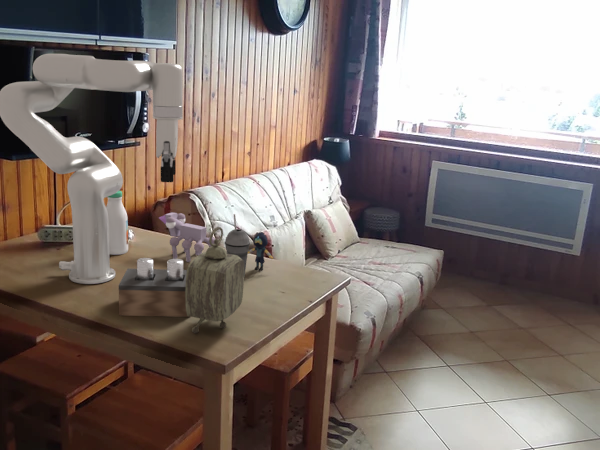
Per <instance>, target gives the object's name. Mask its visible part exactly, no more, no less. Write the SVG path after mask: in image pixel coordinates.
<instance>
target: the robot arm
mask: <svg viewBox="0 0 600 450" xmlns="http://www.w3.org/2000/svg"><path fill="white" fill-rule="evenodd" d="M32 73H33V77H34V78H35V79H36V80H35V81H34V80H32V81H31V80H30V81H16V82H12V83H9V84H7V85H4V86H3V87H2V88H1V89H0V118H1V121H2V122H3V124H4V125H5V127H7V128H8V129H9V130H10V131H11V132H12V133H13V134H14V135H15V136H16V137H18V139H20V140H21V141H22V142H23V143H24V144H25V145H26V146H27V147H29V149H30V151H31V152H33V153H34V154H35V156H37V157H38V158H39V159H40V160H41V161H42V162H43V163H44V164H45V165H46V166H47V167H48V168H49V169H50V170H51V171H53V172H54V173H56V174H58V175H66V174H70V173H72V174H71V176H70V177H69V178H68V181H67V185H66V186H67V194H68V198H69V202H70V206H71V219H72V239H73V240H72V242H73V243H72V244H73V260H71V261H64V260H63V261H61V260H60V261H59V263H58V267H59V269H60V271H70V272H69V273H68V278H69V280H70V281H71V282H74V283H77V284H80V285H81V284H83V285H94V284H95V285H96V284H101V283H106V282H109V281H111V280H113V279H114V278H116V270H115V269H114V268H112V267H110V265H111V264H110V254H109V224H108V212H107V209H106V206H107V205H106V203H105V201H104V199H105V198H107V197H108V196H111V195H113V194H115V193H117V192H118V191H121V189H122V187H123V184H124V179H123V173H122V172H121V170H120V168H119V167H118V166H117V164H115V163H114V162H113V161H112V160H111V159H110V157H108V156H107V155H106V154H105V153H104V152H103V151H102V150H101V149H100V148H99V147H98V146H97V145H96V144H95V143H94V142H93V141H91V140H90V139H88V138H86V137H83V136H69V137H65V136H63V135H62V133H60V132H59V131H58V130H56V128H54V126H53V125H52V124H50V122H48V121H47V120H45V119H43V118H41V117H40V116H38V115H37V114H36V113H43V112H49V111H52V110H53V109H55V108H56V107H57V106H59V105H60V104H61V103H62V102H63V101H64V100H65V98H67V97H68V96H69V95H70V93H72V92H73V90H74V89H83V90H90V91H91V90H96V91H106V92H107V91H109V92H120V93H121V92H122V93H132V92H144V91H152V118H153V119H154V120H156V129H155V131H156V132H155V133H156V134H155V136H156V138H155V140H156V143H155V146H156V149H155V151H156V152H155V156H156V158H157V159H159V158H161V162H160V163H161V164H160V183H173V182H174V176H175V175H176V159H175V158H176V156H177V151H178V144H179V143H178V140H179V138H178V137H179V120H180V121H181V120H183V119H184V118H183V115H184V114H183V107H184V106H183V104H184V103H183V102H184V101H183V95H184V92H183V91H184V89H183V87H184V86H183V81H184V79H183V77H184V76H183V67H182V66H181V65H180V64H178V63H171V62H169V63H168V62H167V63H166V62H153V61H147V60H119V59H118V60H114V59H101V58H95V57H94V56H93V55H81V54H77V55H76V54H67V53H44V54H42V55H40V56H38V57H37V58H36V59H35V60H34V61H33V65H32Z"/></svg>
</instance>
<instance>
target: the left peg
mask: <svg viewBox="0 0 600 450" xmlns="http://www.w3.org/2000/svg"><path fill="white" fill-rule="evenodd" d="M136 269H137V280H148V281H153V269H154V259H153V258H150V257H140V258H138V259H137V260H136Z"/></svg>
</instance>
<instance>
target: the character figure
mask: <svg viewBox="0 0 600 450" xmlns="http://www.w3.org/2000/svg"><path fill="white" fill-rule="evenodd" d="M252 243H253V245H254V246H255V247H253V248H251V249H248V254H247V255H249V254H251V253H253V252H255V251H256V252H255V256H256V257H255V261H254V262H255V263H256V266H255V267H254V270H255V271H257V270H258V271H259V272H261V271H263V270H264V263H265V254H266V255H267V256H268V257H269V259H271V260H273V259H274V257H273V256H272V255H271V253H270V252H269V251H268V249H266V246H267V245H268V244H269V241H268V238H267V235H266V234H264V232H258V233H257V234H255V236H253V240H252ZM264 253H265V254H264Z"/></svg>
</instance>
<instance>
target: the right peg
mask: <svg viewBox="0 0 600 450" xmlns="http://www.w3.org/2000/svg"><path fill="white" fill-rule="evenodd" d="M166 266H167V267H166V269H167V281H183V270H184V260H183V259H180V258H176V259H173V258H171V259H167V261H166Z"/></svg>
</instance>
